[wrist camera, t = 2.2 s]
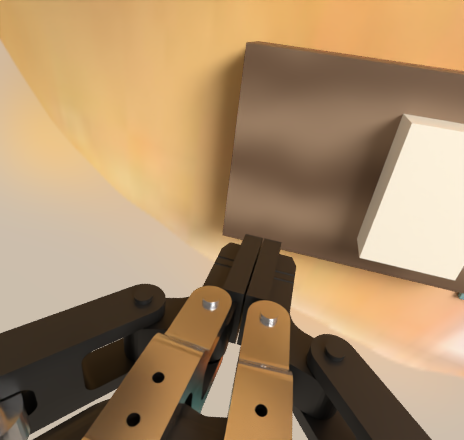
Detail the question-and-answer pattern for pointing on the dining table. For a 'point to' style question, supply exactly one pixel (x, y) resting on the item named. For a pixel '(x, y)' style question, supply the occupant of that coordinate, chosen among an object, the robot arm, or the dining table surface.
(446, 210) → the tile
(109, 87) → the dining table surface
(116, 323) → the robot arm
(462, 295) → the mat
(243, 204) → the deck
